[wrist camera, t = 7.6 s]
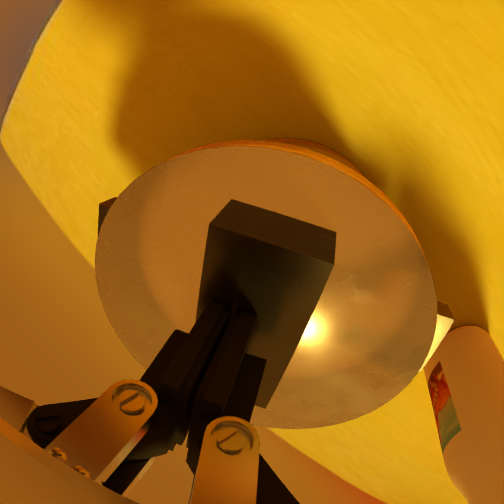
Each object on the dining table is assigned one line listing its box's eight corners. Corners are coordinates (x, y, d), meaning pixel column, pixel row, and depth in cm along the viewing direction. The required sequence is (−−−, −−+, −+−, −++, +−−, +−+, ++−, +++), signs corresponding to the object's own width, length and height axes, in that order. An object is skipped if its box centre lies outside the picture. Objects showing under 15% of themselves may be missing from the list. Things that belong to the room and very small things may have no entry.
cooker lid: (339, 434, 19) (332, 478, 16) (123, 358, 20) (98, 394, 17) (494, 223, 10) (532, 272, 7) (114, 107, 11) (53, 122, 8)
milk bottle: (446, 315, 24) (512, 522, 6) (502, 330, 23) (575, 497, 5) (409, 376, 27) (427, 564, 9) (465, 385, 26) (500, 546, 8)
